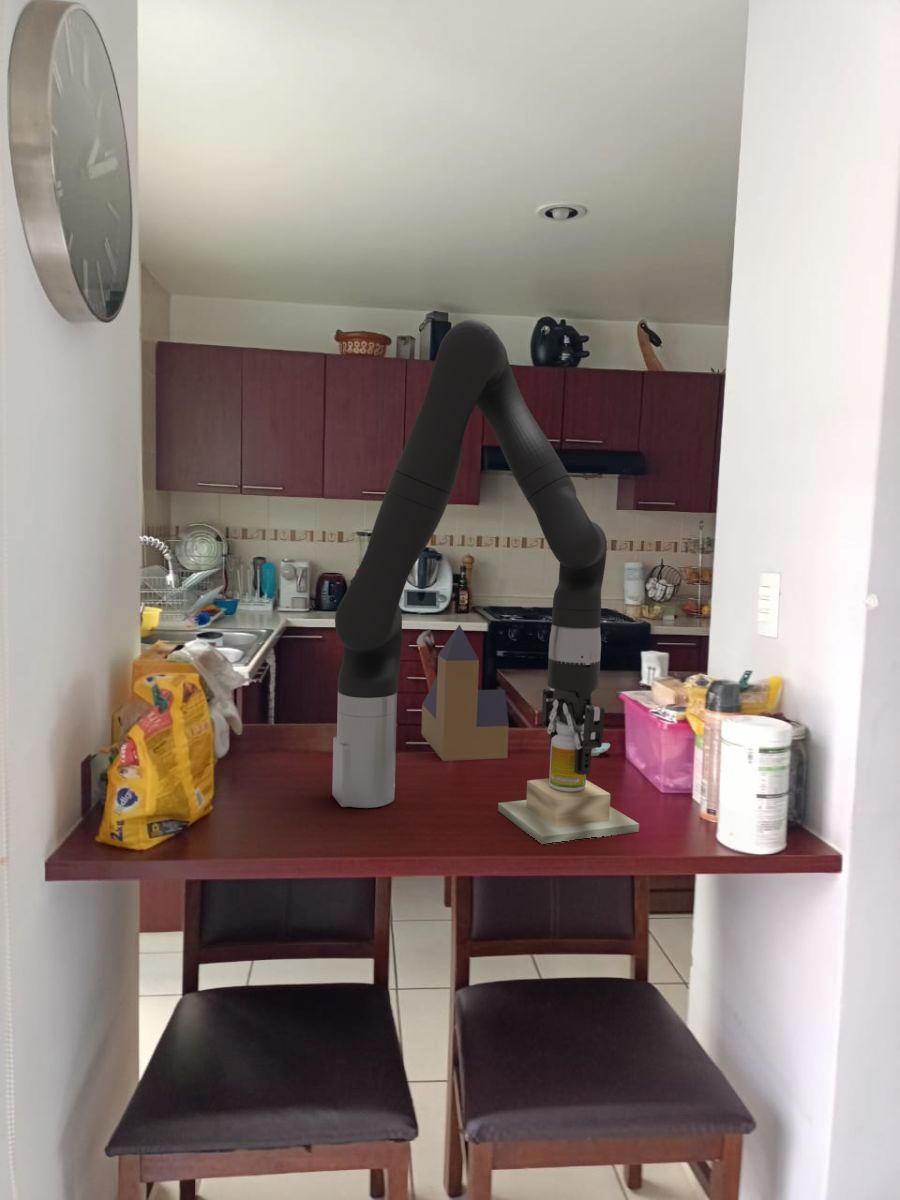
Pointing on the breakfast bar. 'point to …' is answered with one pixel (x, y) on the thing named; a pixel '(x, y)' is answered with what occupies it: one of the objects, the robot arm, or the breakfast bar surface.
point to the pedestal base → (568, 831)
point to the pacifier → (599, 750)
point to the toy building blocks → (464, 708)
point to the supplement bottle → (564, 761)
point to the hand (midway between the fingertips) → (568, 765)
